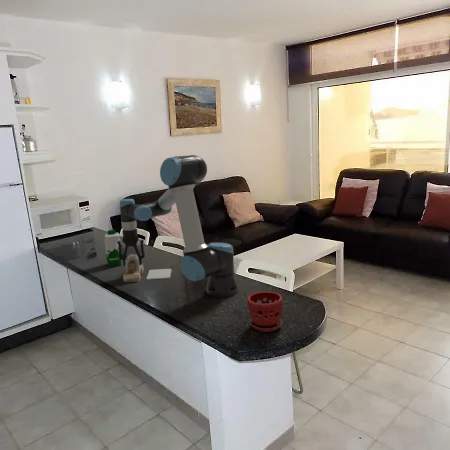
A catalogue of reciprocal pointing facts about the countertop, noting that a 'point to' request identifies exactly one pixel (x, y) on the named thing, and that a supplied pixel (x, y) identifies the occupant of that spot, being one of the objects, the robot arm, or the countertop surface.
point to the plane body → (132, 273)
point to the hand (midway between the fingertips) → (133, 271)
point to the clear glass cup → (133, 260)
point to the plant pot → (265, 311)
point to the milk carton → (112, 248)
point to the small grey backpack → (130, 249)
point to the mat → (159, 274)
